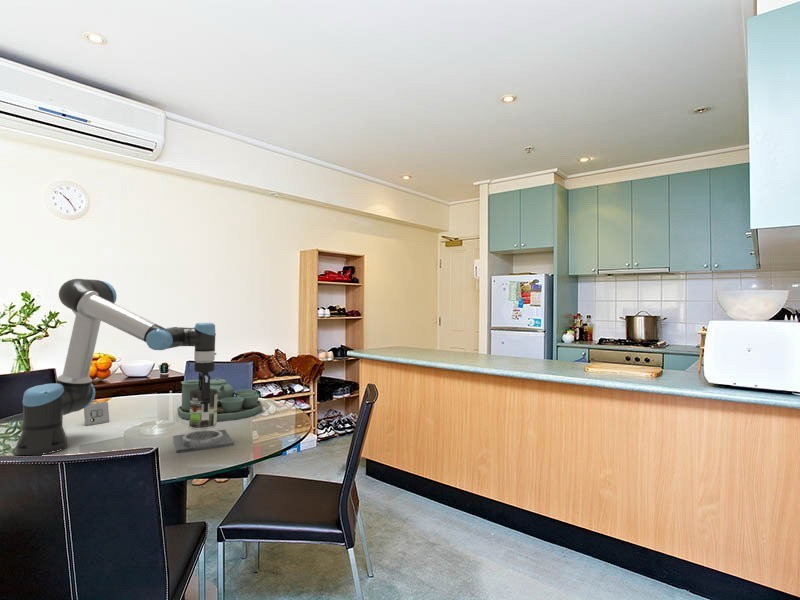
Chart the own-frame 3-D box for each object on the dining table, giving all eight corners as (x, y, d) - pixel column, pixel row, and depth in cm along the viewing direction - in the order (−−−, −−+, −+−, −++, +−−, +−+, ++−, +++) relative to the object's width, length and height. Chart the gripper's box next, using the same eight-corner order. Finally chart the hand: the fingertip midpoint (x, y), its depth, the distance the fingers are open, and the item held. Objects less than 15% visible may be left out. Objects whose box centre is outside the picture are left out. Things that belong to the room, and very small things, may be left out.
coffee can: (204, 430, 172) (205, 394, 172) (183, 428, 175) (183, 392, 175) (222, 424, 182) (223, 389, 182) (201, 421, 185) (202, 387, 185)
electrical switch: (85, 426, 196) (85, 405, 197) (81, 425, 199) (81, 404, 200) (109, 422, 203) (109, 401, 204) (105, 421, 206) (105, 401, 207)
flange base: (176, 452, 164) (177, 446, 164) (173, 438, 182) (173, 432, 182) (233, 445, 175) (233, 438, 175) (224, 431, 192) (225, 426, 192)
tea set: (216, 427, 200) (217, 390, 200) (160, 415, 219) (161, 381, 219) (278, 409, 235) (279, 378, 235) (225, 400, 254) (226, 371, 254)
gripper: (219, 364, 171) (217, 422, 170) (210, 357, 190) (209, 409, 190) (197, 365, 167) (196, 424, 166) (191, 358, 186) (190, 411, 186)
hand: (203, 416), depth 178 cm, fingers closed on coffee can, 10 cm apart
